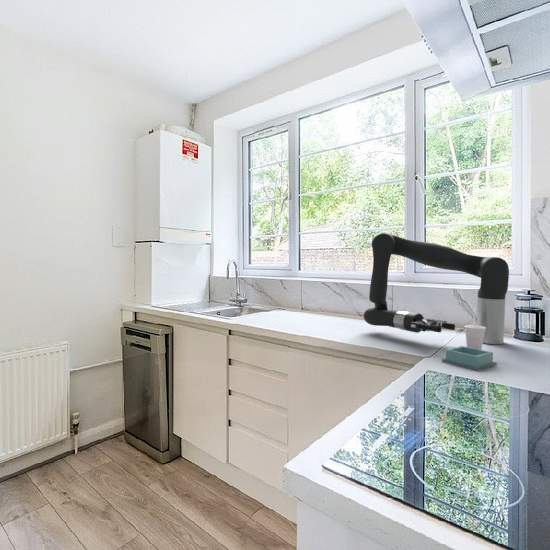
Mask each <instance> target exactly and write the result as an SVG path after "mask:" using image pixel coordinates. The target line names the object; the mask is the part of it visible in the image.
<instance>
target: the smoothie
mask: <svg viewBox="0 0 550 550" xmlns="http://www.w3.org/2000/svg"><path fill="white" fill-rule="evenodd" d="M476 319H477V313H473V320H472V321H473V324H466V325H464V328H463V329H464V330H465V340H466V341H465V342H466V347H469V348H474V349H479V350H483V344H484V343H483V339H484V333H485V331H486V328H485V327H483V326H477V324H476Z"/></svg>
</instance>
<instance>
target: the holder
mask: <svg viewBox="0 0 550 550" xmlns="http://www.w3.org/2000/svg"><path fill="white" fill-rule="evenodd" d="M493 359H494V352H492V351H488V350H487V351H486V350H483V349H482V350H479V349H474V348H469V347H467V346H463V345H461V346H457V347H453V348H447V349H445V357H444V358H441V362H442V361H443V362H442V363H445V362H446V363H445V364H449V363H450V365H453V364H454V365H453V366H458V367H461V368H463V369H468V370H469V369H470V370H472V371H476V372H480V371H482V370H486V369H489V368H492V367H495V366H497V361H494V360H493ZM479 370H480V371H479Z"/></svg>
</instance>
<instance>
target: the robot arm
mask: <svg viewBox="0 0 550 550" xmlns="http://www.w3.org/2000/svg"><path fill="white" fill-rule="evenodd" d="M371 248H372V258H373V260H372V265H373V266H372V272H371V278H370V284H369V285H370V286H369V293H368V294H369V295H368V297H369V301H370V302H371V303H374V307H371V308H368V309H366V310H365V311H364V313H363V320H364V321H365V322H366V323H367V324H368V325H370V326H375V327H376V326H378V327H379V326H380V327H390V328H395V329H399V330H401V331H405V332H411V333H414V334H415V333H416V334H418V333H421V332H423V333H425V332H435V333H442V330H450V331H455V330H456V324H455V323H451V322H448V321H446V320H440V319H434V318H425V317H424V316H423V314H422V313H419V312H412V311H411V312H410V311H406V310H405V311H404V310H402V311H401V310H396V309H395V310H393V309H388V304H387V292H388V280H389V278H388V277H389V268H390V262H391V261H390V260H391V257H392V255H393V256H394V255H395V256H400V257H403V258H406V259H409V260H411V261H414V262H416V263H419V264H421V265H425V266H428V267H433V268H436V269H441V270H447V271H455V272H461V273H462V272H463V273H465V274H469V275H471V276H475V277H478V278H480V287H479V289H478V290H477V303H476V305H477V306H476V325H477V326H483V327H485V328H486V331H485V333H484V339H483V344H488V345H503V344H504V340H505V339H504V338H505V336H504V335H505V320H506V319H505V315H506V296H507V293H508V289H509V280H510V279H509V278H510V268H509V264H508V262H507V261H506V260H505V259H503V258H501V257H500V256H499V257H498V256H488V257H487V256H479V255H473V254H469V253H468V254H467V253H464V252H462V251H459V250H458V249H456V248H455V249H454V248H452V247H449V246H446V245H442V244H437V243H433V242H428V241H427V242H425V241H419V240H412V239H407V238H403V237H400V236H397V235H395V234H392V233H389V232H385V231H381V232H378V233H376V234H375V235H374V237H373V238H372V239H371Z"/></svg>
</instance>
